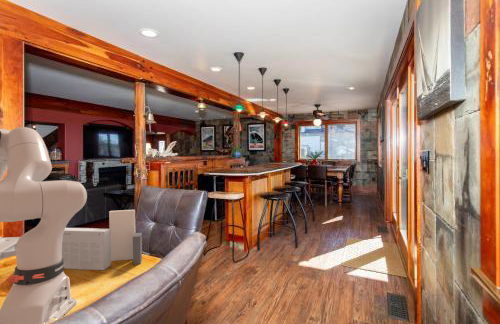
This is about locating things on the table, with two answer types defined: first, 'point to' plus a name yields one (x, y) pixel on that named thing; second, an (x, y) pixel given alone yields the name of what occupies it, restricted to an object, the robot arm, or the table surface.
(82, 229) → the skincare box
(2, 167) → the robot arm
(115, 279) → the table surface
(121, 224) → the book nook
